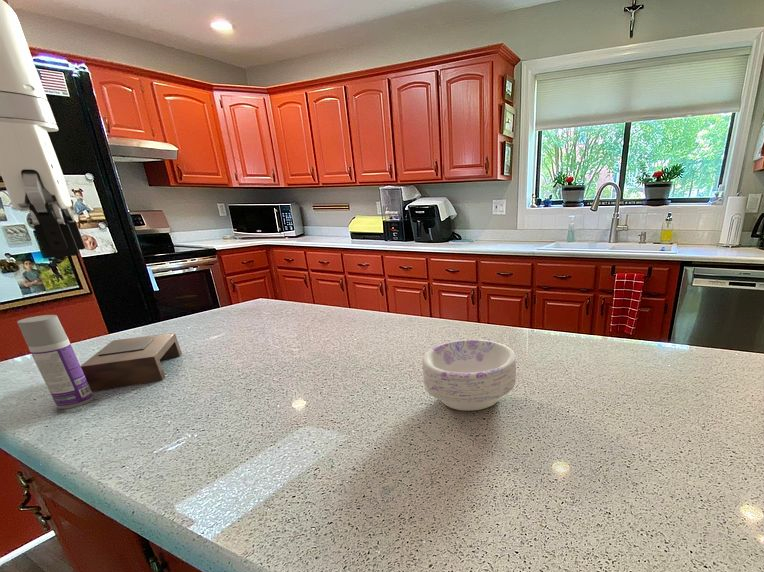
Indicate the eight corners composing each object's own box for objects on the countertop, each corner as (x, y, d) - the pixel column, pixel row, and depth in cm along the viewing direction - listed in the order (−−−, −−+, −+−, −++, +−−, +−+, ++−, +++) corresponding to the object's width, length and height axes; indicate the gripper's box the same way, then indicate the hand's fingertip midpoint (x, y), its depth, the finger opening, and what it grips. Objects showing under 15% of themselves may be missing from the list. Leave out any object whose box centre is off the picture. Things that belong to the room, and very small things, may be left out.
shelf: (89, 392, 72) (78, 365, 70) (121, 362, 86) (112, 339, 84) (162, 380, 76) (153, 355, 74) (182, 353, 90) (174, 331, 88)
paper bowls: (450, 431, 57) (447, 382, 54) (411, 391, 69) (407, 349, 66) (534, 404, 64) (536, 359, 61) (485, 372, 76) (484, 333, 73)
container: (84, 394, 71) (48, 313, 66) (100, 398, 70) (64, 315, 64) (51, 406, 67) (9, 321, 61) (66, 410, 66) (25, 324, 60)
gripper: (-14, 121, 54) (41, 250, 61) (-58, 97, 42) (17, 262, 48) (62, 126, 59) (105, 246, 65) (43, 106, 46) (99, 256, 53)
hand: (67, 252), depth 57 cm, fingers open, 9 cm apart
